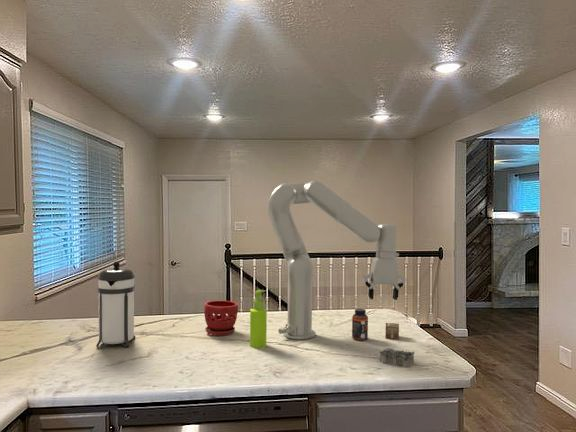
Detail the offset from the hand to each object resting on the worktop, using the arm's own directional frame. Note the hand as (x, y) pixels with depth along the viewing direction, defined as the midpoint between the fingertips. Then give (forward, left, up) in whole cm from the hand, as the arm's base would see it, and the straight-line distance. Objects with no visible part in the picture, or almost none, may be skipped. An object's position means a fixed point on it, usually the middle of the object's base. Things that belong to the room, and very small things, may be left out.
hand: (382, 298), depth 181 cm
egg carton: (-21, -20, -15) cm, 33 cm away
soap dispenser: (-44, +23, -15) cm, 52 cm away
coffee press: (-81, +60, -15) cm, 102 cm away
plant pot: (-45, +45, -15) cm, 65 cm away
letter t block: (+1, -4, -15) cm, 15 cm away
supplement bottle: (-10, +4, -15) cm, 18 cm away
